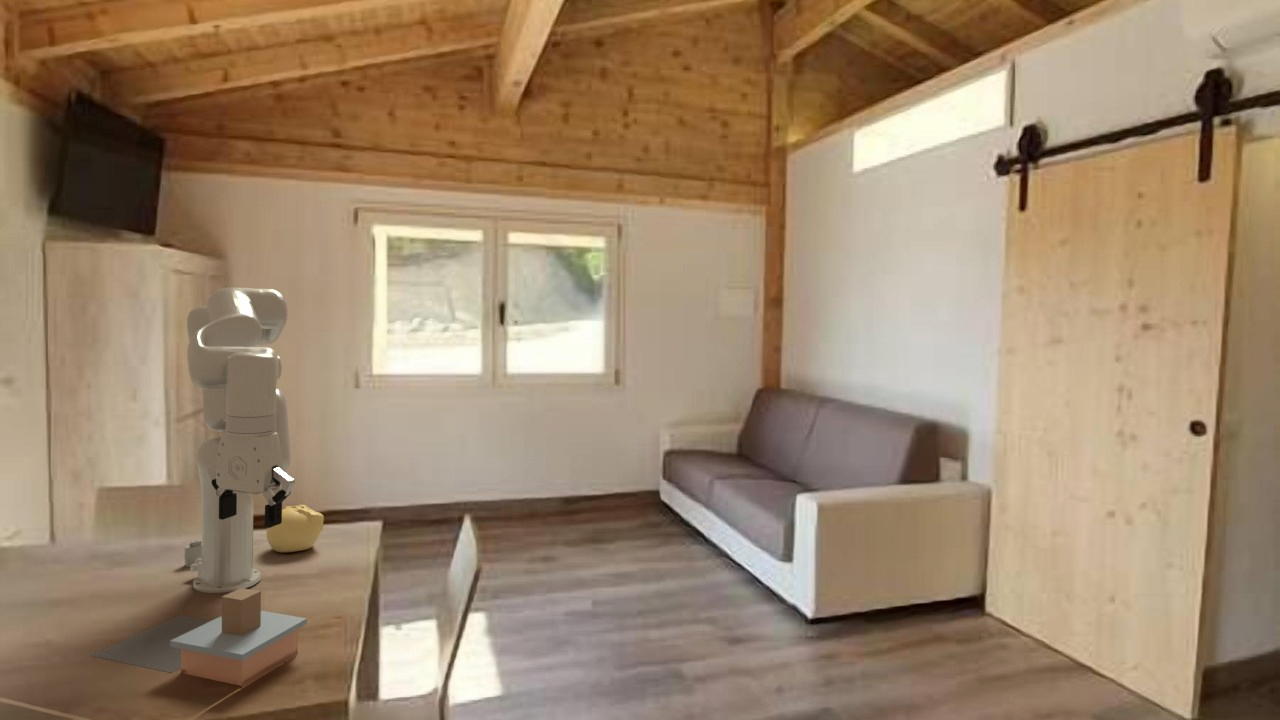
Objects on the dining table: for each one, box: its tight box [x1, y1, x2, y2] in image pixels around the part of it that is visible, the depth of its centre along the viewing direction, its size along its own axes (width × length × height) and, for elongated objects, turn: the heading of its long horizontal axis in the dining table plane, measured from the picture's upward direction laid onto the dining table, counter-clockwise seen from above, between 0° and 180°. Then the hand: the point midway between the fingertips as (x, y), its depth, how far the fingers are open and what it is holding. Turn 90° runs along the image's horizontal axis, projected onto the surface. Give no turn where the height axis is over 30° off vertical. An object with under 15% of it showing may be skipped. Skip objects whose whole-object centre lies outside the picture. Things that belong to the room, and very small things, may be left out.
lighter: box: [184, 539, 202, 568], centre depth 164 cm, size 7×2×8 cm, turn 141°
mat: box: [90, 614, 211, 674], centre depth 125 cm, size 17×17×1 cm
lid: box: [170, 588, 308, 661], centre depth 119 cm, size 14×14×7 cm
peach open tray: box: [180, 629, 299, 689], centre depth 119 cm, size 12×12×5 cm
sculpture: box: [266, 504, 325, 553], centre depth 176 cm, size 12×12×11 cm
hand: (250, 521), depth 124 cm, fingers open, 9 cm apart
